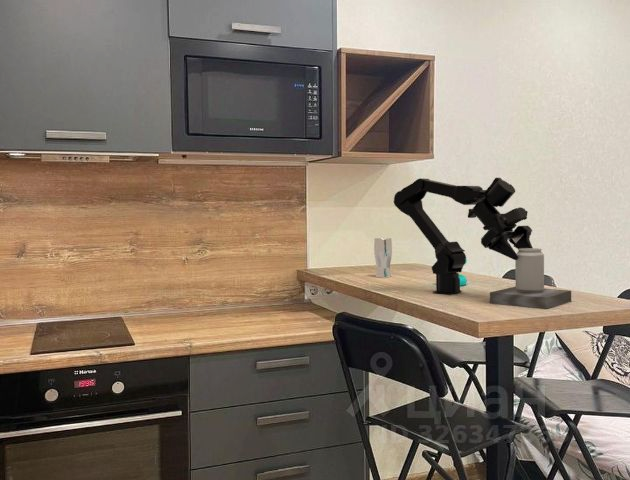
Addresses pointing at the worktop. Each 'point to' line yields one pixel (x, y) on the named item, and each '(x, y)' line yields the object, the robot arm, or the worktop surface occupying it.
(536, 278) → the can
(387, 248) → the white piece
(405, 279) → the worktop surface
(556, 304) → the plinth
